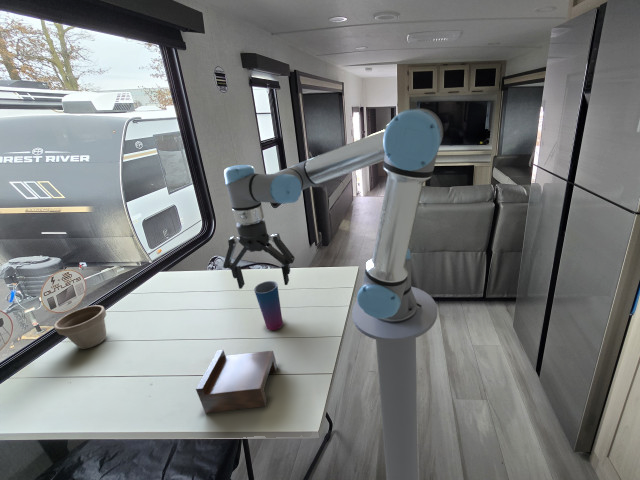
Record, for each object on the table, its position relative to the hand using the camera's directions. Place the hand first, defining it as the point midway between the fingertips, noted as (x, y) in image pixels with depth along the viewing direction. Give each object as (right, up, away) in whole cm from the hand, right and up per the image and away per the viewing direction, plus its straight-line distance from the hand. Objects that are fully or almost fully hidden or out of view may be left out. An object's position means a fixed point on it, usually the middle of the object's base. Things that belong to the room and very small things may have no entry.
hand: (264, 284), depth 96 cm
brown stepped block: (+1, -24, -16) cm, 29 cm away
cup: (+1, -15, +6) cm, 16 cm away
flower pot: (-56, -19, +3) cm, 59 cm away
